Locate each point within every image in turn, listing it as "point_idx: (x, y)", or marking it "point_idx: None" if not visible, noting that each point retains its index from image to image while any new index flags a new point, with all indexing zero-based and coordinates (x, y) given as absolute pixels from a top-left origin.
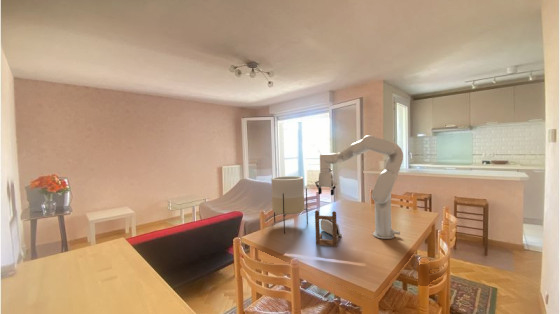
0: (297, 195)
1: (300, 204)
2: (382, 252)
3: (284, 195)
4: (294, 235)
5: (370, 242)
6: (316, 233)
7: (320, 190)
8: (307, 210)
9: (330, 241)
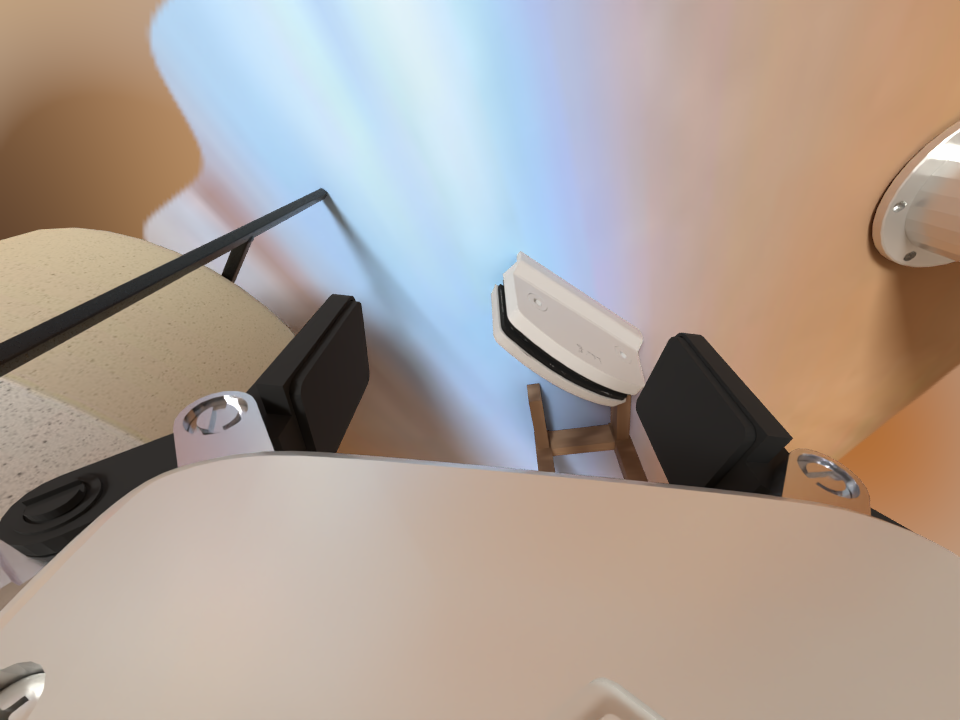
0: None
1: None
2: (820, 412)
3: None
4: (400, 402)
5: (801, 338)
6: None
7: (334, 399)
8: (261, 226)
9: (602, 448)
